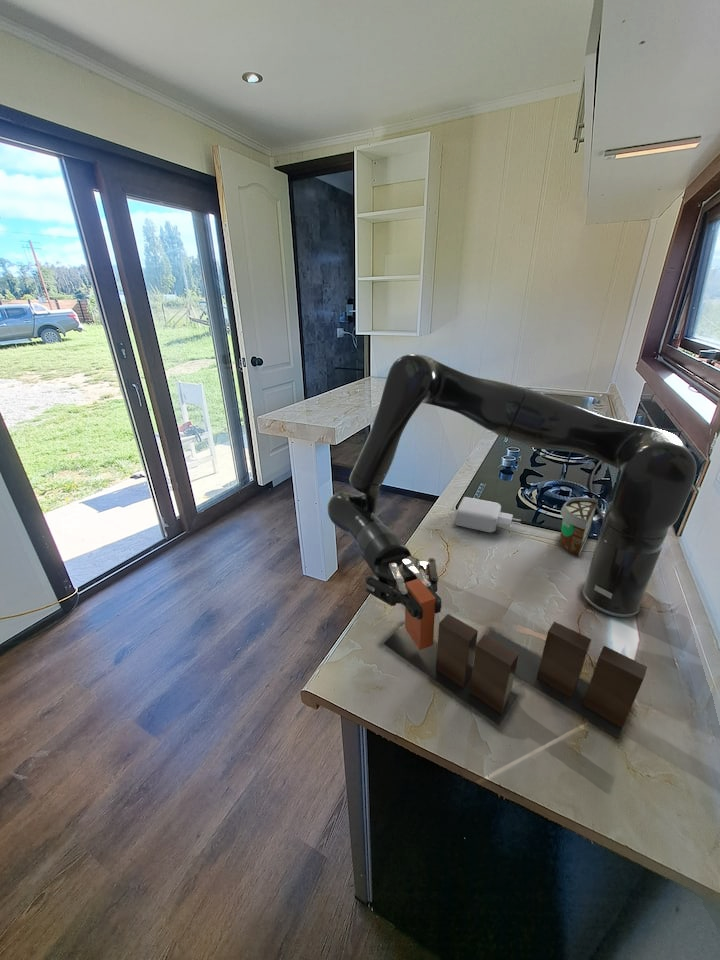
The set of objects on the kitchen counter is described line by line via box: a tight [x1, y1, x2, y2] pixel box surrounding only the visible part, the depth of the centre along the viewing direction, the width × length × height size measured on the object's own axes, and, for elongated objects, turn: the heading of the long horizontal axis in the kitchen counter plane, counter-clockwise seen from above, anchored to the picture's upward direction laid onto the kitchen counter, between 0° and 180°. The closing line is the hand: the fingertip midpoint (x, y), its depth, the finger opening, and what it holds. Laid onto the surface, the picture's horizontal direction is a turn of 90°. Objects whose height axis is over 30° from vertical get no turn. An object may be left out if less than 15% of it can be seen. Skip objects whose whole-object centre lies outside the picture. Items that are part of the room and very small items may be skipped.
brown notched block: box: [486, 621, 648, 741], centre depth 57 cm, size 6×21×10 cm, turn 47°
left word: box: [383, 613, 519, 727], centre depth 59 cm, size 6×21×10 cm, turn 47°
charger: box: [455, 496, 522, 534], centre depth 98 cm, size 5×9×15 cm
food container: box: [559, 496, 599, 557], centre depth 89 cm, size 12×6×10 cm, turn 141°
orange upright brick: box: [404, 579, 436, 650], centre depth 61 cm, size 2×5×10 cm, turn 22°
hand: (429, 611), depth 58 cm, fingers closed on orange upright brick, 2 cm apart
